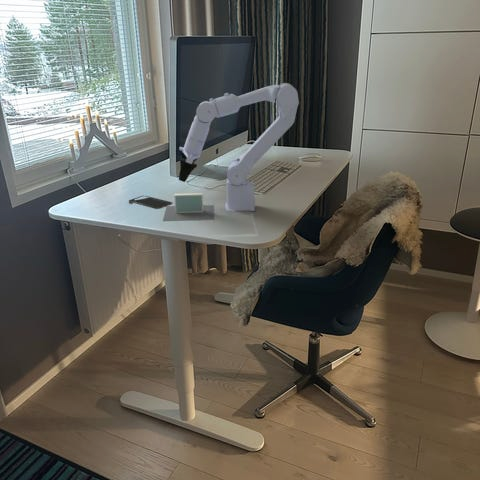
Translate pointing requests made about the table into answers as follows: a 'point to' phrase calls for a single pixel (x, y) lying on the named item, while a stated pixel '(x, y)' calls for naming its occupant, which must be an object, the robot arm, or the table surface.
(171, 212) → the desk mat
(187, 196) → the card box
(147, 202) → the phone
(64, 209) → the table surface
